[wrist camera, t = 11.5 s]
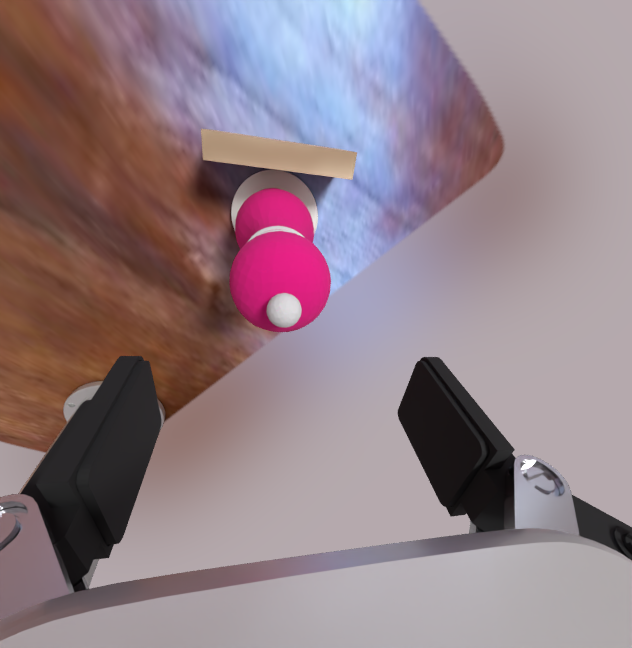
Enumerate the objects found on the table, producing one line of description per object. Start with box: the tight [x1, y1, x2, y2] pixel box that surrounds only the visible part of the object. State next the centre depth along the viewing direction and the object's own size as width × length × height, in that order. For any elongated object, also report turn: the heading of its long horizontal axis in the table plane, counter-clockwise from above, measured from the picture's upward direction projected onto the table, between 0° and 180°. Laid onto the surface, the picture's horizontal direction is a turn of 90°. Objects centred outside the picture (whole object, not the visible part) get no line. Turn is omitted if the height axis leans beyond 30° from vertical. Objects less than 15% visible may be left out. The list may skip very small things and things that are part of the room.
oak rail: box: [201, 129, 357, 180], centre depth 26 cm, size 2×12×6 cm, turn 82°
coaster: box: [231, 169, 318, 234], centre depth 31 cm, size 9×9×1 cm
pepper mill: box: [230, 188, 331, 332], centre depth 22 cm, size 7×7×20 cm
